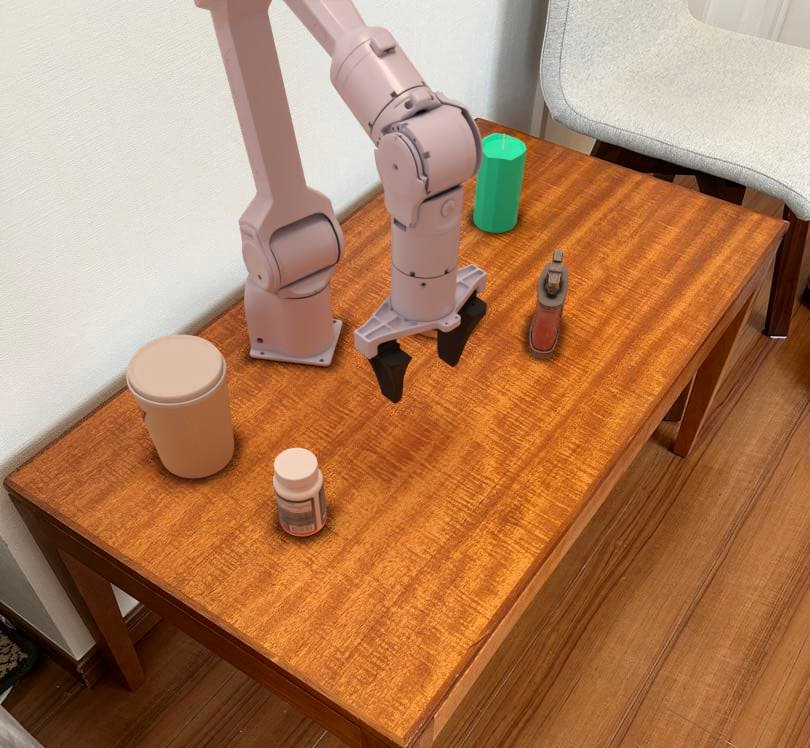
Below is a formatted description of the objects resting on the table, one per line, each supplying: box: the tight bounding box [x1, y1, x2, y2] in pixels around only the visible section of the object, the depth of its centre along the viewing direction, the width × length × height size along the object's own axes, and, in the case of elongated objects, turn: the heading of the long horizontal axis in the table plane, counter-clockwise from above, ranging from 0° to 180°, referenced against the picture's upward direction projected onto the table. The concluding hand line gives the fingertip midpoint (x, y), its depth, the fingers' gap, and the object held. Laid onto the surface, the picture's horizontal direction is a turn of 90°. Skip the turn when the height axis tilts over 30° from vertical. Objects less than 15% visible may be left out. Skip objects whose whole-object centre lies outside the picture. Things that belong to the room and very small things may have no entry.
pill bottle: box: [272, 447, 328, 537], centre depth 81 cm, size 5×5×8 cm
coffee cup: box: [125, 334, 235, 479], centre depth 85 cm, size 9×9×12 cm
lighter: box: [528, 248, 570, 359], centre depth 97 cm, size 8×3×10 cm, turn 169°
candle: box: [472, 132, 527, 234], centre depth 111 cm, size 6×6×12 cm
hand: (419, 378), depth 82 cm, fingers open, 7 cm apart
